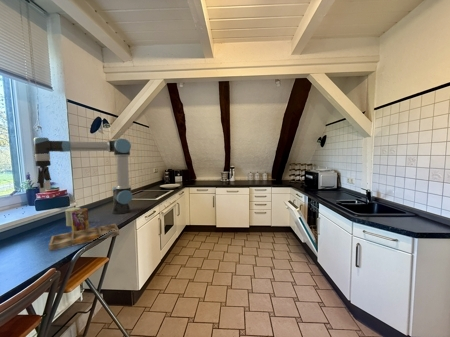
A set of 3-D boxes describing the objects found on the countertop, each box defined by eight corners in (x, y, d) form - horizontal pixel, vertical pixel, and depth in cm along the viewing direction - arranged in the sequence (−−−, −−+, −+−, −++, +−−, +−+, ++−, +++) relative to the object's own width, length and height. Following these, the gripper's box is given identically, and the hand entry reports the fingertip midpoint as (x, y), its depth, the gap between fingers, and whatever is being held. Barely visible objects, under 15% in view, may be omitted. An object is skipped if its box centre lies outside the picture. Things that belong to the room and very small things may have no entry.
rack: (115, 228, 140) (115, 223, 139) (119, 235, 127) (119, 230, 127) (52, 241, 120) (51, 235, 119) (49, 251, 107) (48, 245, 107)
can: (73, 226, 143) (72, 210, 142) (62, 225, 145) (61, 209, 144) (84, 222, 152) (83, 207, 151) (74, 221, 154) (73, 206, 153)
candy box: (87, 229, 138) (86, 207, 137) (89, 230, 135) (88, 208, 134) (71, 233, 131) (70, 210, 130) (73, 235, 129) (71, 212, 127)
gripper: (40, 159, 144) (43, 188, 146) (29, 161, 123) (32, 194, 124) (54, 159, 148) (56, 187, 150) (45, 160, 126) (48, 193, 128)
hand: (45, 191), depth 137 cm, fingers open, 13 cm apart
